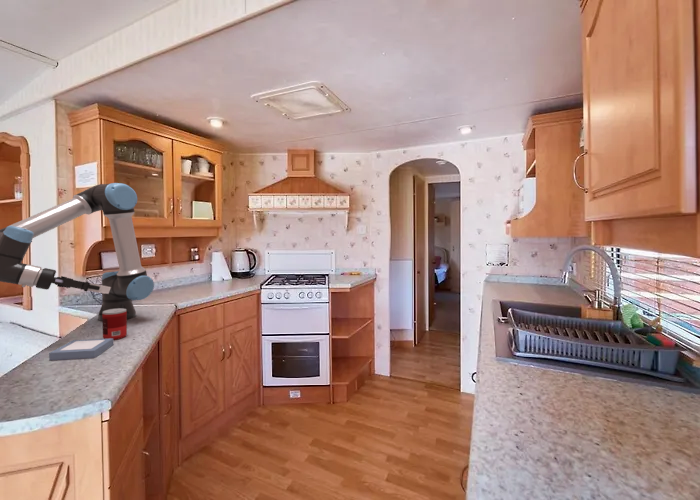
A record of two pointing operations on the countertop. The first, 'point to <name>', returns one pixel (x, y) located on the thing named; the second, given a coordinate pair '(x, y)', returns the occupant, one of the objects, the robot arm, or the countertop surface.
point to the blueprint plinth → (81, 349)
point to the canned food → (114, 323)
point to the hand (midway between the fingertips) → (107, 290)
